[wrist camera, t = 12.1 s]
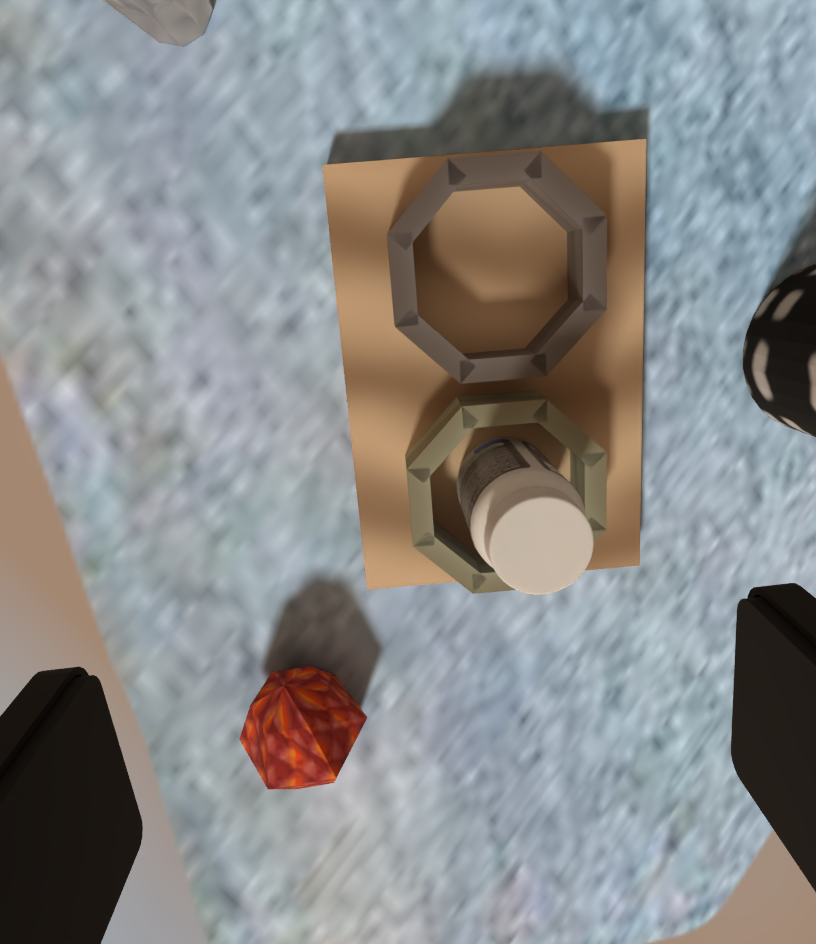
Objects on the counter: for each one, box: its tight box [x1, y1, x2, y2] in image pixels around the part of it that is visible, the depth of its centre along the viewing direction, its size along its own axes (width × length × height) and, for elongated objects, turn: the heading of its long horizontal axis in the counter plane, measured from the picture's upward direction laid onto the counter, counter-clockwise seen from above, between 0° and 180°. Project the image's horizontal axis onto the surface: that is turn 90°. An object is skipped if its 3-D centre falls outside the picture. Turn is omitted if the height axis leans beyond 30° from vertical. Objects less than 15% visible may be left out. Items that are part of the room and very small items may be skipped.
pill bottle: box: [457, 438, 594, 595], centre depth 29 cm, size 5×5×8 cm
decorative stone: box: [240, 666, 367, 789], centre depth 36 cm, size 6×7×8 cm
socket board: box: [322, 139, 646, 594], centre depth 32 cm, size 20×14×4 cm
